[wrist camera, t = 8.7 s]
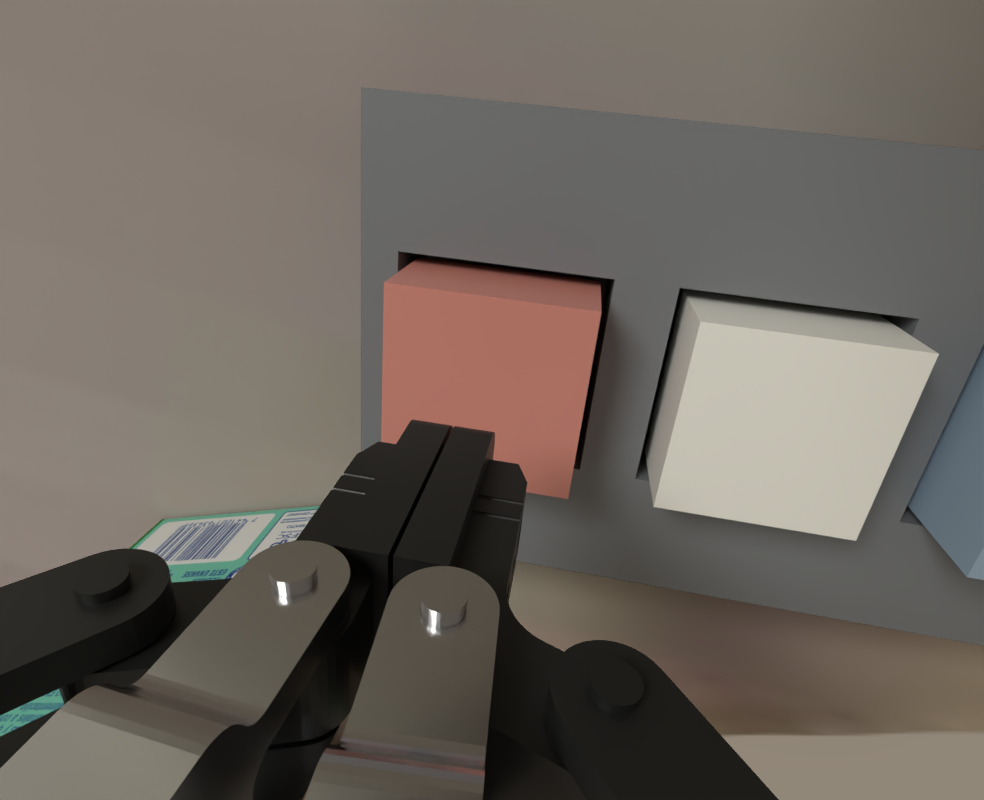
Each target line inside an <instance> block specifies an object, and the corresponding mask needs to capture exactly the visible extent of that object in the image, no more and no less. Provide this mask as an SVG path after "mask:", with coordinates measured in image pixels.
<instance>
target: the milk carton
mask: <svg viewBox="0 0 984 800" xmlns="http://www.w3.org/2000/svg"><path fill="white" fill-rule="evenodd" d="M319 507H320V506H310V507H299V508H287V509H276V510H264V511H253V512H241V513H230V514H218V515H207V516H195V517H184V518H173V519H162V520H161V521H159V522H158V523H157V524H156V525H155V526H154V527H153V528H152V529H151V530H149V531H148V532H147V533H146V534H145V535H144V536H143V537H142V538H141V539H139V540H138V541H137V542H136V543H135V544H134V545H133V546H132V547H131V548H129V549H142V550H146V551H150V552H153V553H155V554H157V555H159V556H160V557H162V558H163V559H164V560H165V562H166V563H167V565H168V567H169V571H170V576H171V581H172V582H186V581H202V580H218V579H228V578H233V577H234V576H235V575H236V573H237V572H238V571H239V570H240V569H241V568H242V567H243V566H244V565H245V564H246V563H247V562H248V561H249V560H250V559H251V558H252V557H254V556H255V555H257V554H258V553H260V552H261V551H263V550H265V549H267V548H270V547H272V546H275V545H278V544H282V543H285V542H291V541H295V540H296V539H297V537H298V536H299V535H300V533H301V532H302V530H303V529H304V528H305V526H306V525H307V523H308V522H309V521H310V519H311V518H312V516H313V515H314V514H315V512H316V511H317V509H318V508H319ZM62 706H64V702H63V699H62V696H61V694H60V691H59V689H57V690H54V691H52V692H50V693H48V694H46V695H44V696H41V697H39V698H37V699H35V700H33V701H31V702H28V703H26V704H24V705H22V706H20V707H18V708H16V709H13V710H11V711H9V712H7V713H5V714H3V715H0V736H2V735H4V734H6V733H8V732H11V731H13V730H15V729H17V728H19V727H21V726H23V725H25V724H27V723H29V722H31V721H33V720H35V719H38V718H40V717H42V716H44V715H46V714H48V713H50V712H52V711H54V710H56V709H58V708H60V707H62Z"/></svg>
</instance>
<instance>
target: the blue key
mask: <svg viewBox="0 0 984 800" xmlns="http://www.w3.org/2000/svg"><path fill="white" fill-rule="evenodd" d="M907 506H908V507H909V508H910V509H911V511H912V512H913V513H914V514H915V515H916V517H917V518H918V519H919V520H920V521H921V523H922V524H923V525H924V526H925V527H926V529H927V530H928V531H929V532H930V533H931V535H932V536H933V537H934V538H935V539H936V541H937V542H938V543H939V544H940V546H941V547H942V548H943V549H944V550H945V552H946V553H947V554H948V555H949V556H950V558H951V559H952V560H953V561H954V562H955V564H956V565H957V566H958V567H959V568H960V570H961V571H962V572H963V573H964V574H965V576H966V577H969V578H974V579H980V580H984V345H983V347H982V349H981V351H980V353H979V355H978V357H977V359H976V362H975V364H974V366H973V368H972V370H971V372H970V374H969V376H968V378H967V381H966V383H965V385H964V387H963V389H962V391H961V393H960V395H959V397H958V400H957V402H956V404H955V406H954V408H953V410H952V412H951V414H950V416H949V418H948V421H947V423H946V425H945V427H944V429H943V431H942V433H941V435H940V437H939V440H938V442H937V444H936V446H935V448H934V450H933V452H932V454H931V456H930V459H929V461H928V463H927V465H926V467H925V469H924V471H923V473H922V475H921V477H920V480H919V482H918V484H917V486H916V488H915V490H914V492H913V494H912V496H911V499H910V501H909V503H908V505H907Z"/></svg>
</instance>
